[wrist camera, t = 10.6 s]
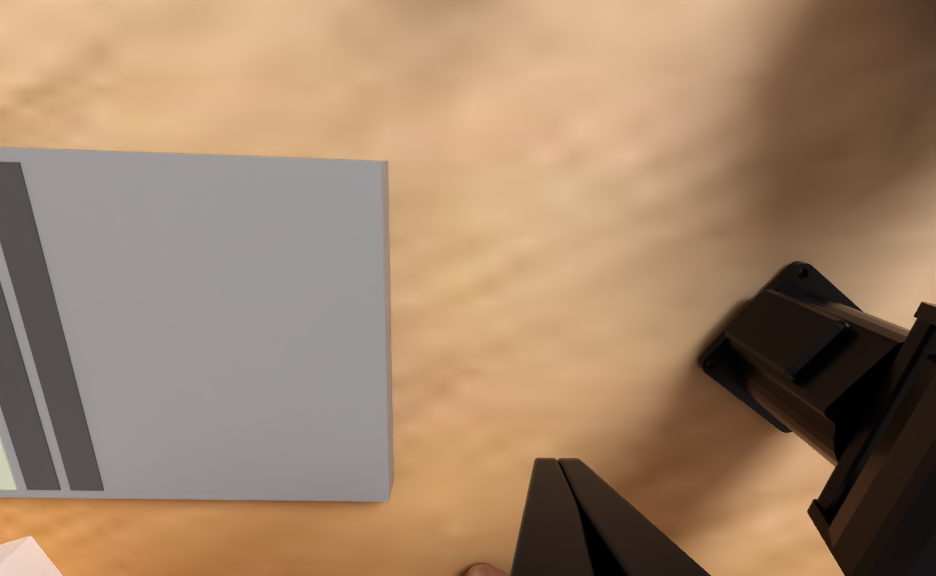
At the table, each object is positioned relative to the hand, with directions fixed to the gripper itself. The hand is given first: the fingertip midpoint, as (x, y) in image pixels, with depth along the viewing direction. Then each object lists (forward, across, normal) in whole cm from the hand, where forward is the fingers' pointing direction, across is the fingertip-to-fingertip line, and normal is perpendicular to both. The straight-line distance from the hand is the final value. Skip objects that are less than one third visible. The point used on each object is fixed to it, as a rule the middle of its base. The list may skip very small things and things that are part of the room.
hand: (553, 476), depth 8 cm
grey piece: (+12, +18, +2) cm, 22 cm away
